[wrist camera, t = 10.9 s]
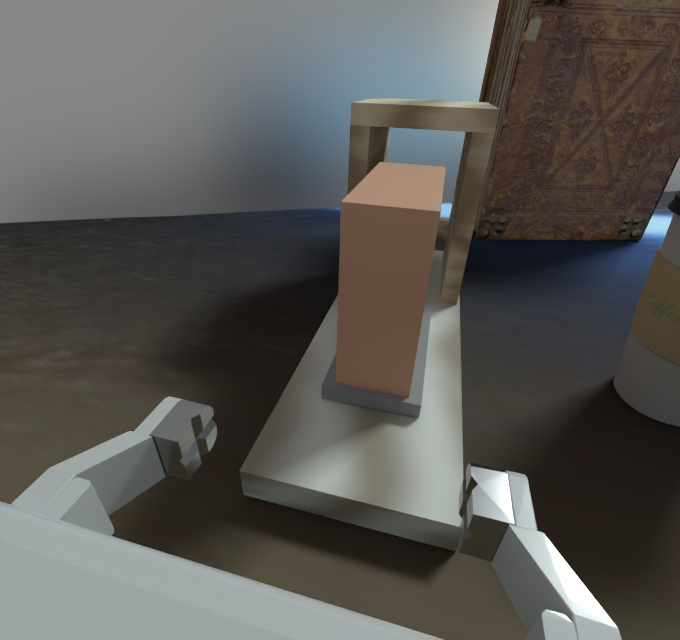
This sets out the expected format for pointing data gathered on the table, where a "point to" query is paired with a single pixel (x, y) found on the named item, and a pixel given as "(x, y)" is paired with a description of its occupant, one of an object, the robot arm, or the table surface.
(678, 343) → the coffee cup
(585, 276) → the table surface
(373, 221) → the block
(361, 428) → the tunnel track
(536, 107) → the book
